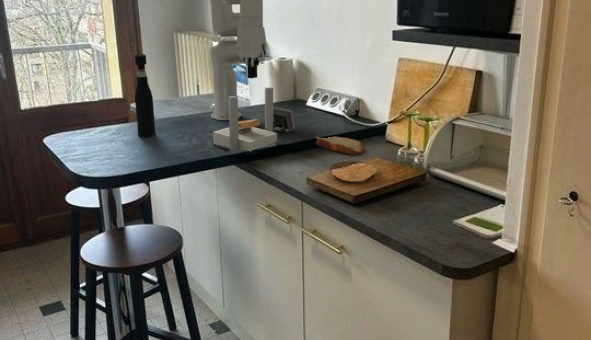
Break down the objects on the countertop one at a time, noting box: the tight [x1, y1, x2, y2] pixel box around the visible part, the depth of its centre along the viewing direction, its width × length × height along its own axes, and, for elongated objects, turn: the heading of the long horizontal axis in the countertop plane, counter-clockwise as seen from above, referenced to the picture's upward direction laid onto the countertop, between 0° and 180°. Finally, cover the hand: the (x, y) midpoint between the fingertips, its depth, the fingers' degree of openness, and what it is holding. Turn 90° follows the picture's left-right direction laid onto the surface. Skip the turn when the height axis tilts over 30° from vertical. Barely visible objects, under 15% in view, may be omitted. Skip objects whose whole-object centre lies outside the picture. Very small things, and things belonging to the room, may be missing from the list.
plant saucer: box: [328, 160, 364, 172], centre depth 178 cm, size 15×15×3 cm
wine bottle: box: [134, 53, 156, 138], centre depth 210 cm, size 6×6×30 cm
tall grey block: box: [264, 86, 274, 132], centre depth 206 cm, size 5×5×20 cm
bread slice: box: [315, 135, 365, 156], centre depth 205 cm, size 18×18×4 cm
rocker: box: [238, 118, 261, 129], centre depth 202 cm, size 10×5×2 cm, turn 51°
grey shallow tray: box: [212, 126, 278, 152], centre depth 204 cm, size 18×14×6 cm
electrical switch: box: [273, 106, 296, 131], centre depth 221 cm, size 9×5×9 cm, turn 57°
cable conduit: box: [228, 96, 239, 151], centre depth 193 cm, size 5×5×20 cm
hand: (252, 77), depth 194 cm, fingers closed
